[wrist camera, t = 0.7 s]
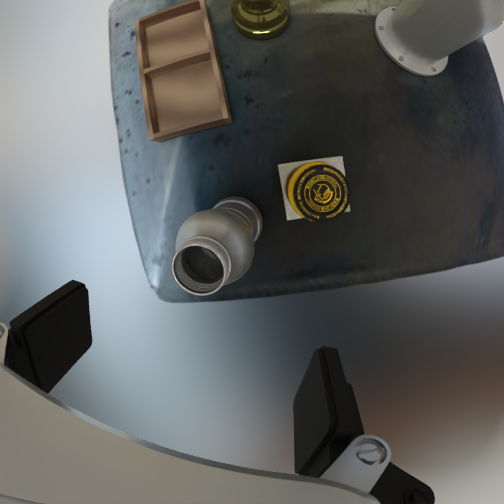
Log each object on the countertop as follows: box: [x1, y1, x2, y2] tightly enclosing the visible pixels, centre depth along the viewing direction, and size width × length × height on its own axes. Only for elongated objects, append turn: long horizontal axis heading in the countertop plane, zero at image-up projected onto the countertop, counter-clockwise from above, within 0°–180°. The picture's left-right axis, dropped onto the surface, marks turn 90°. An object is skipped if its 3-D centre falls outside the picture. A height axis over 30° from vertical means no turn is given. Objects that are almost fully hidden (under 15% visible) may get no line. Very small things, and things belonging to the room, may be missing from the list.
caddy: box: [135, 0, 233, 142], centre depth 30 cm, size 20×10×4 cm, turn 12°
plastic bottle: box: [172, 196, 263, 296], centre depth 27 cm, size 6×7×20 cm
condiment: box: [278, 156, 351, 223], centre depth 29 cm, size 7×8×12 cm
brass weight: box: [231, 0, 289, 40], centre depth 24 cm, size 7×7×10 cm
